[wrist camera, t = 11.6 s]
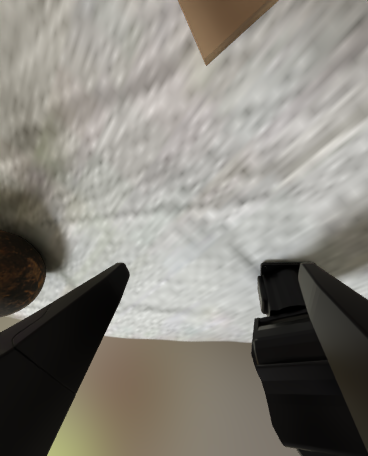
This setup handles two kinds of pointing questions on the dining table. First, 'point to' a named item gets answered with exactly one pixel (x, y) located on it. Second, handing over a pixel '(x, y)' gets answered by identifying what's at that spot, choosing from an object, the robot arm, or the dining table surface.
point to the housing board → (220, 21)
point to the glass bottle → (18, 273)
